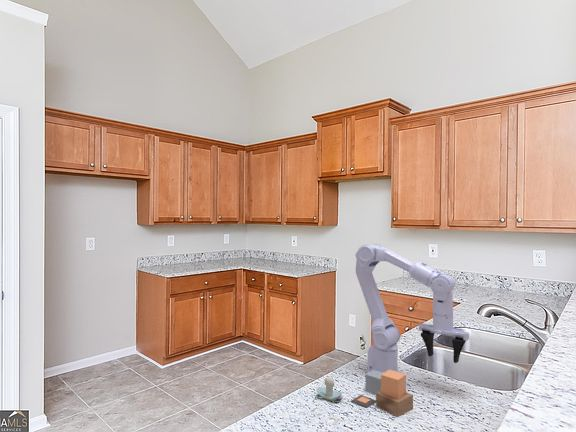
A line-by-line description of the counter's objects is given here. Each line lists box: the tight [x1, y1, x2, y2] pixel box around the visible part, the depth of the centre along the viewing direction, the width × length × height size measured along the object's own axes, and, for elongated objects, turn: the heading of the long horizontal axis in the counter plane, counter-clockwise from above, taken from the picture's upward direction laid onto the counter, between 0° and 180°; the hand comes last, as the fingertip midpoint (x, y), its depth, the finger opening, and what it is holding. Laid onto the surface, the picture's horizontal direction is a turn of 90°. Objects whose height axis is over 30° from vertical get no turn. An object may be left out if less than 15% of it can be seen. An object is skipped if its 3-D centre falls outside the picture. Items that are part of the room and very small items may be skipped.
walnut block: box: [375, 391, 414, 418], centre depth 99 cm, size 7×7×4 cm
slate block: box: [364, 370, 383, 396], centre depth 109 cm, size 5×5×5 cm
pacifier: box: [316, 376, 344, 402], centre depth 104 cm, size 7×6×6 cm
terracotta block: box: [381, 370, 407, 399], centre depth 99 cm, size 5×5×5 cm
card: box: [350, 394, 376, 409], centre depth 101 cm, size 5×5×1 cm
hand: (443, 358), depth 110 cm, fingers open, 7 cm apart
